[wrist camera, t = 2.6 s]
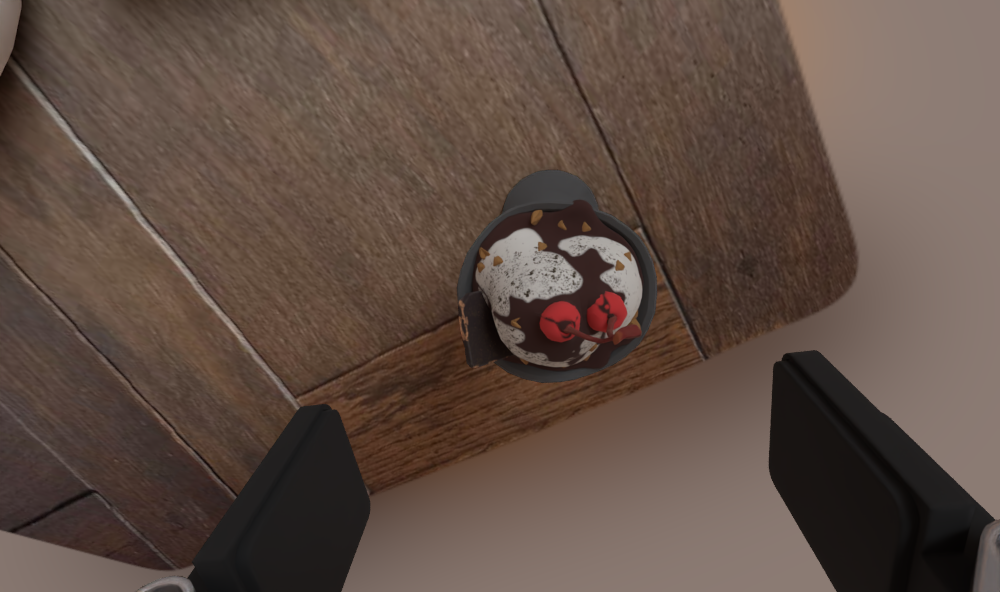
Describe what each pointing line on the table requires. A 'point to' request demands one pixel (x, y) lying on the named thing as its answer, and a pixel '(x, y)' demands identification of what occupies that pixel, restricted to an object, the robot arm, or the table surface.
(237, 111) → the table surface
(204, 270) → the table surface
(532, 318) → the sundae
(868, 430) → the robot arm
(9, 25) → the pot
